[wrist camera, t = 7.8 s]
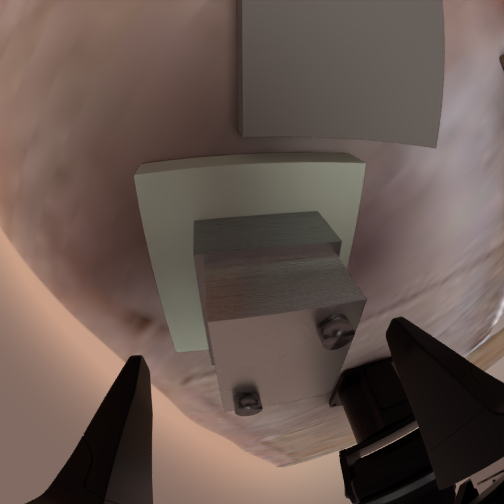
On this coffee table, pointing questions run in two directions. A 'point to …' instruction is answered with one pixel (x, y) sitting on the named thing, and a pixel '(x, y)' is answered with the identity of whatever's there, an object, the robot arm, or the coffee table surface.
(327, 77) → the stand
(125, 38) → the coffee table surface
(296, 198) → the stand
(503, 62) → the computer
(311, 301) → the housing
